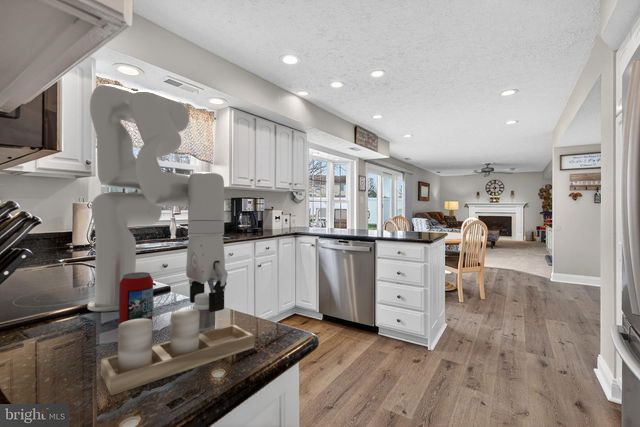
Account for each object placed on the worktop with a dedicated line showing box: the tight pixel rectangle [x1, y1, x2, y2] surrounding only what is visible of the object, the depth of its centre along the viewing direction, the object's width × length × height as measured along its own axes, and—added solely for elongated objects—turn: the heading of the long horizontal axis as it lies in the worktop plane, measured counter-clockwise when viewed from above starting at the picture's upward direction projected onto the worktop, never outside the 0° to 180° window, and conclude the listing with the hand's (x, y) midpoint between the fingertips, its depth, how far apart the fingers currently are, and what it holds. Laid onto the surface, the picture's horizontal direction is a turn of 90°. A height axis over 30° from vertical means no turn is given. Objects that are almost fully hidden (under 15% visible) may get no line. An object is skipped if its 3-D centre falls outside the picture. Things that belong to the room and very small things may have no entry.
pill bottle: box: [192, 292, 216, 333], centre depth 69 cm, size 5×5×8 cm
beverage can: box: [118, 271, 154, 325], centre depth 72 cm, size 7×7×12 cm
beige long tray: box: [100, 308, 255, 396], centre depth 57 cm, size 8×24×8 cm, turn 134°
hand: (206, 305), depth 69 cm, fingers open, 9 cm apart
